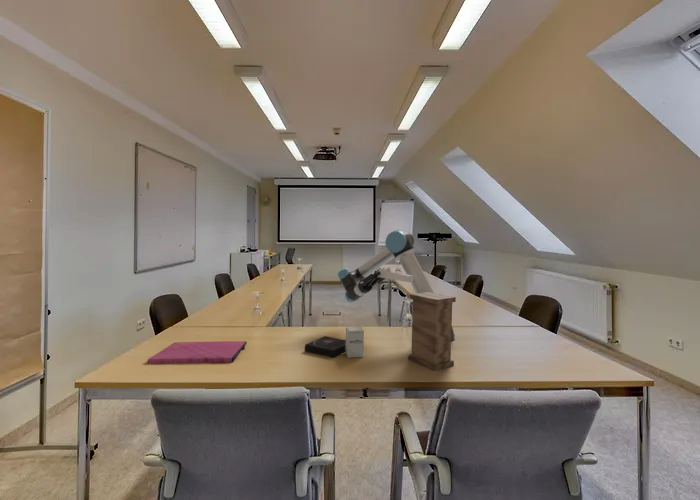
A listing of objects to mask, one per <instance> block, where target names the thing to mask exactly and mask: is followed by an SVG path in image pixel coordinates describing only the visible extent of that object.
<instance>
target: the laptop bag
mask: <svg viewBox="0 0 700 500" xmlns="http://www.w3.org/2000/svg"><path fill="white" fill-rule="evenodd" d="M247 343H248V342H247V341H244V340H243V341H242V340H241V341H239V340H238V341H237V340H232V341H231V340H229V341H224V340H223V341H179V342H173V343H172V344H170V345H168V346H167V347H165V348H164V349H162V350H161V351H159V352H157V353H156V354H154V355H152V356H150V357H149V358H148V359H147V364H155V365H157V364H211V363H212V364H217V363H221V364H225V363H226V364H227V363H234V362H235V360H236V359H237V357H238V356H239V354H240V353H241V351H242V350H245V352H246V345H247Z"/></svg>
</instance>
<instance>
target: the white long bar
mask: <svg viewBox="0 0 700 500" xmlns="http://www.w3.org/2000/svg"><path fill="white" fill-rule="evenodd" d="M378 271H379V270H376V271H374V272H373V274H374V273H377V272H378ZM380 277H381V278H386V279H388V280H393V281H394V280H395V281H398V282H399V281H400V282H406V283H411V282H413V275H406V273H405V274H404V273H399V272H393V271H391V272H386V273H384V274H383V275H382V276H380Z"/></svg>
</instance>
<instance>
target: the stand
mask: <svg viewBox="0 0 700 500" xmlns="http://www.w3.org/2000/svg"><path fill="white" fill-rule="evenodd" d="M409 299H411V300H412V310H411V311H412V317H411V321H412V322H411V323H412V324H411V326H412V327H411V354H408V355H407V356H408V357H407V360H409V361H411V362H414V363H416V364H418V365H421V366H423V367H425V368H427V369H430V370H432V371H435V372H436V371H438V370H439V371H440V370H442V369H446V368H449V367H452V366H454V364H455V360H453V359H451V358H452V357H451V355H452V354H451V353H452V341H451V327H452V328H453V324H452V323H453V304H452V303H456V300H457V297H456V296H449V295H445V294H442V293H441V294H440V293H437V292H436V293H435V292H434V293H430V292H424V293H416V292H415V293H409Z"/></svg>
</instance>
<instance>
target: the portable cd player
mask: <svg viewBox="0 0 700 500" xmlns="http://www.w3.org/2000/svg"><path fill="white" fill-rule="evenodd" d="M345 349H346V339H341V338H336V337H331V336H326V335H324V336H323V337H319V338H318V339H315V340H313V341H310V342H308V343H305V346H304V352H305V353H309V354H314V355H319V356H323V357H327V358H331V359H335V358H338V357H339V356H341V355H343V354H344V352H345ZM342 353H343V354H342Z"/></svg>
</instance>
